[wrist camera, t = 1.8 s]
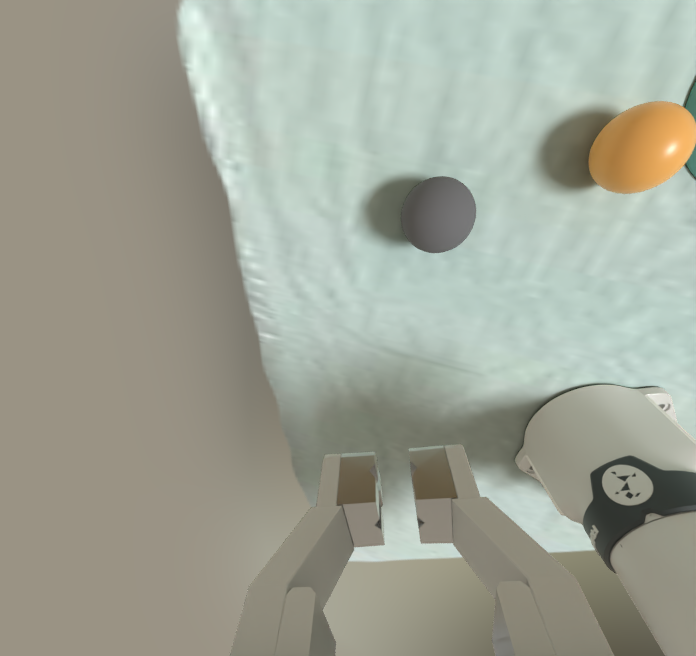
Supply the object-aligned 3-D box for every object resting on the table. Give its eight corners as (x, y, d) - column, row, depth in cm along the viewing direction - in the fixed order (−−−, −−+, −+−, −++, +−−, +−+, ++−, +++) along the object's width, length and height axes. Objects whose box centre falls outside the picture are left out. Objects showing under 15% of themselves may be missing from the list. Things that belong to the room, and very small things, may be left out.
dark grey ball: (478, 212, 30) (502, 224, 24) (425, 256, 32) (436, 276, 27) (438, 158, 28) (454, 159, 23) (384, 209, 30) (388, 220, 25)
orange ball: (664, 151, 27) (737, 151, 22) (592, 205, 29) (643, 216, 24) (634, 87, 25) (706, 69, 20) (559, 149, 27) (606, 148, 22)
